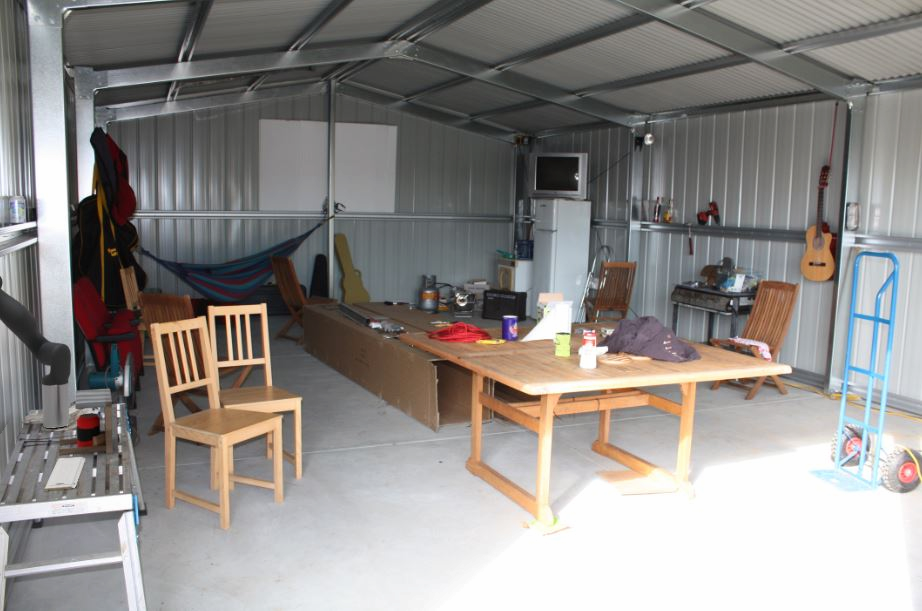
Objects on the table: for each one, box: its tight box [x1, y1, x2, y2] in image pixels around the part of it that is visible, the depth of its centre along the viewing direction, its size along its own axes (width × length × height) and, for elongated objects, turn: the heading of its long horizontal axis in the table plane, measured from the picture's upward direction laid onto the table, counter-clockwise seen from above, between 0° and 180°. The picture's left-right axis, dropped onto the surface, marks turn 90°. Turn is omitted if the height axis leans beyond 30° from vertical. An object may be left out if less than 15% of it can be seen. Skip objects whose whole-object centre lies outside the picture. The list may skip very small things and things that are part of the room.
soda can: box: [76, 412, 101, 448], centre depth 282 cm, size 8×8×12 cm
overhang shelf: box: [58, 388, 113, 456], centre depth 281 cm, size 20×17×19 cm
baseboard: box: [43, 456, 86, 492], centre depth 255 cm, size 30×3×10 cm
